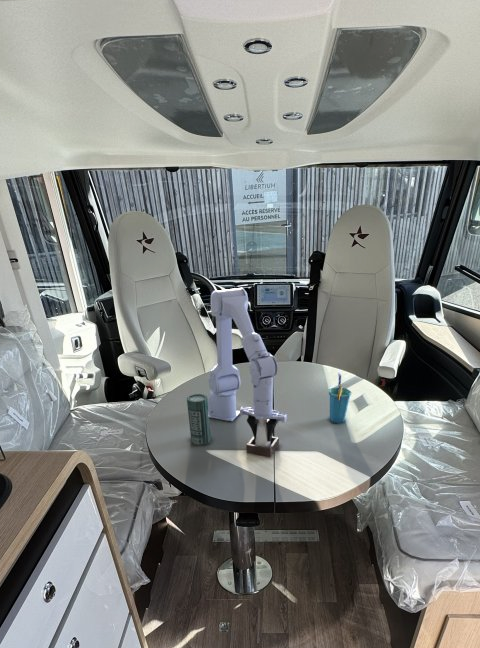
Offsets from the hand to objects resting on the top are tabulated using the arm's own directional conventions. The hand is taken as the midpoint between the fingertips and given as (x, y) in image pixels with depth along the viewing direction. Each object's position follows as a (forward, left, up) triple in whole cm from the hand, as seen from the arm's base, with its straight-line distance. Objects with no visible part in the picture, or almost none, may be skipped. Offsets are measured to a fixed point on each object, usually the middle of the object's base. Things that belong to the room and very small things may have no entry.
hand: (262, 438), depth 138 cm
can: (-21, -2, -4) cm, 21 cm away
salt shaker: (0, 0, -4) cm, 4 cm away
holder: (0, 0, -4) cm, 4 cm away
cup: (+17, +30, -4) cm, 35 cm away
